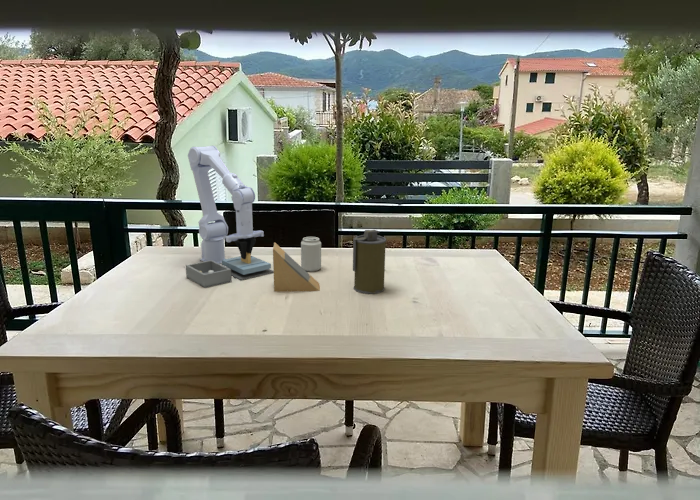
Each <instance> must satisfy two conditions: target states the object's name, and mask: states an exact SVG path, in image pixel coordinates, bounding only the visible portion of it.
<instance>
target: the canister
mask: <svg viewBox="0 0 700 500" xmlns="http://www.w3.org/2000/svg"><path fill="white" fill-rule="evenodd" d="M378 234H380V231H378V230H377V229H365V230H364V233H363V234H361V235H358V236H356V237H354V238H353V239H352V240H353V241H352V242H353V243H352V246H353V247H352V271H353V272H354V282H353V283H354V284H353V289H354V291H356V292H358V293H360V294H368V295H369V294H370V295H372V294H380V293H381V292H383V291H384V290H385V288H386V287H385V271H386V269H385V268H386V267H385V266H386V246H387V245H386V243H387V238H386V237H384V236H381V235H378Z"/></svg>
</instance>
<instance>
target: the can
mask: <svg viewBox="0 0 700 500" xmlns="http://www.w3.org/2000/svg"><path fill="white" fill-rule="evenodd" d="M300 259H301V260H300V266H301V267H302V268H303V269H304V270H305V271H306V272H308V273H309V272H310V273H313V272H317V271H319V270H320V269H321V268H322V242H321V240H320V238H319V237H316V236H306V237H303V238H302V240H301V242H300Z"/></svg>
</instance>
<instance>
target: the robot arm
mask: <svg viewBox="0 0 700 500" xmlns="http://www.w3.org/2000/svg"><path fill="white" fill-rule="evenodd" d="M187 158H188V162H189V166H190V170H191V171H192V173H193V179H194V183H195V186H196V190H197V195H198V200H199V203H200V206H201V211H202V216H201V218H200V220H199V221H198V233H199V237H200V238H201V239H202V241H201V242H200V244H201V245H200V249H201V250H200V251H201V258H199V260H200V262H205V261H210V260H213V261H215V262H217V263H219V264H222V260H224V259H226V256H225V255H226V254H225V252H226V251H225V242H227V243H231V242H234V243H235V245H236V246H237V248H238V251H239V254H240V256H241V258H243V259H246V252H247V253H250V254H251V255H252V251H253V249H254V246H255V245H256V242H257V239H256V238H257V237H264V236H265V234H264V231H263V230H261V229H260V230H253V229H254V227H253V223H254V222H253V203H254V202H255V200H256V193H255V191H254V189H253V188H252V187H251V186H248V185H245V184H244V182H243V181H242V180H241V178H239V177H238V174H236V173H235V172H231V171H230V170H229V168H228V167H227V166H226V164H225V162H224V161H223V160H222V158H221V152H220V151H219V149H218V147H217V146H216V145H207V146H192V147H190V149H189V150H188V153H187ZM212 168H213V170H214V171H215V172H216V174H218V175H219V176H220V178H221V179H222V181H221V182H222V183H221V184H223V186H224V187H225V188H226V190H227V191H228V192H229V193H230V195H231V201H232V203H233V209H234V210H235V222H236V227H235V228H236V233H232V234H229V235H228V233H229V226H228V224H227V222H226V220H225V217H224V216H223V215H222V214H220V213H218V209H217V206H216V201H215V197H214V193H213V192H214V191H213V189H212V185H211V180H210V176H209V171H210V170H211V169H212Z"/></svg>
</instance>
